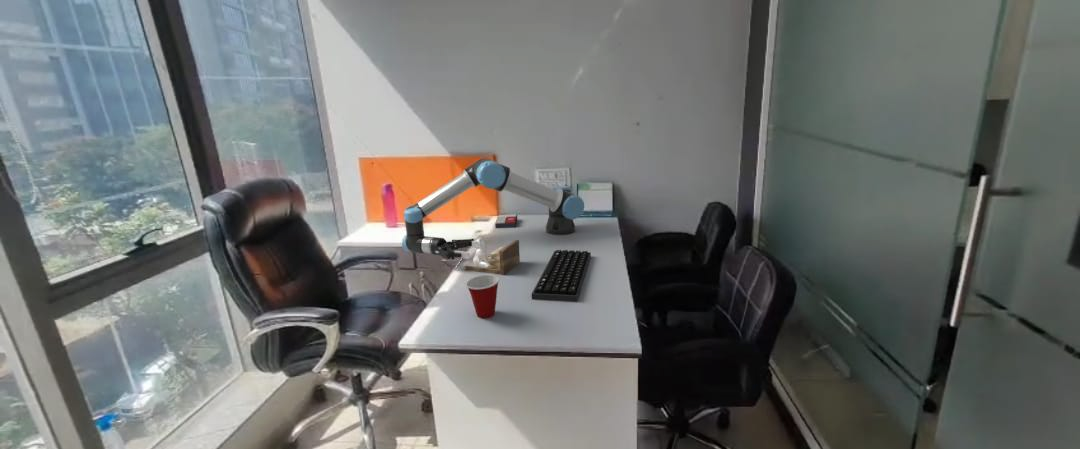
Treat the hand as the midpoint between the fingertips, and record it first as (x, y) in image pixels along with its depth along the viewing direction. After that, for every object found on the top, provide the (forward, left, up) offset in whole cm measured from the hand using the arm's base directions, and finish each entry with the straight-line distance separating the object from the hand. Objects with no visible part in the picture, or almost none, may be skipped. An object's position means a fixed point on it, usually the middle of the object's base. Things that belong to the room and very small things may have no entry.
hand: (477, 250), depth 190 cm
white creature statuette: (-2, +1, -7) cm, 7 cm away
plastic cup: (+10, +45, -7) cm, 47 cm away
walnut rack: (-5, +4, -7) cm, 9 cm away
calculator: (-31, -55, -7) cm, 64 cm away
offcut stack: (-8, +7, -7) cm, 13 cm away
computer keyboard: (-27, +27, -8) cm, 39 cm away
